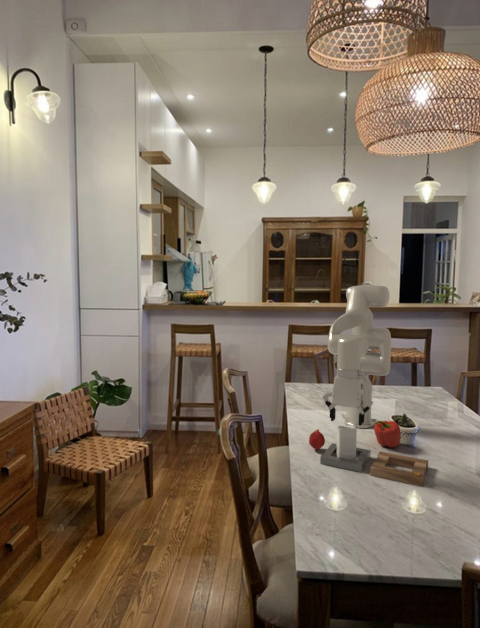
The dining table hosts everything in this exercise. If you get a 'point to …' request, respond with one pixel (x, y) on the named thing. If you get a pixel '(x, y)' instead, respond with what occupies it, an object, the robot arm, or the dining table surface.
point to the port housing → (397, 474)
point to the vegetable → (387, 433)
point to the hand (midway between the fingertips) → (346, 422)
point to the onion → (316, 440)
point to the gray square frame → (344, 463)
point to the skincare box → (346, 442)
